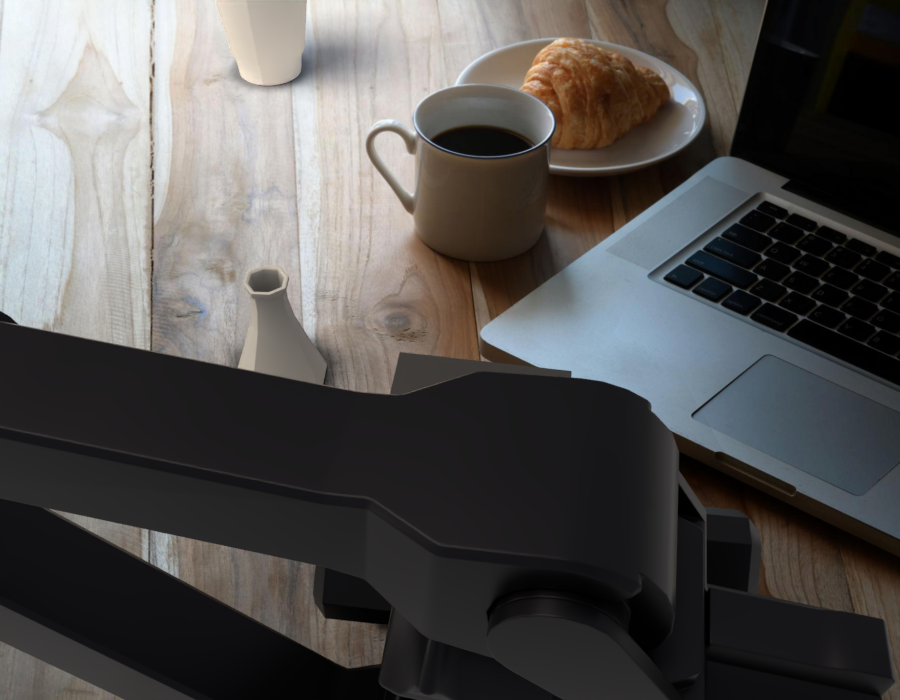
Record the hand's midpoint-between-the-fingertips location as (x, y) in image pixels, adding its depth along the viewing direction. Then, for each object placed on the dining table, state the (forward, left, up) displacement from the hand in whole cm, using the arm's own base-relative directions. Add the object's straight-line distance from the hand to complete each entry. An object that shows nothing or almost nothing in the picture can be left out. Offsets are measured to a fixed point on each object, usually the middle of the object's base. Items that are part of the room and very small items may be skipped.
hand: (531, 526), depth 49 cm
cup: (+64, +33, -13) cm, 73 cm away
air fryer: (+9, +4, -12) cm, 16 cm away
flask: (+19, +20, -13) cm, 30 cm away
